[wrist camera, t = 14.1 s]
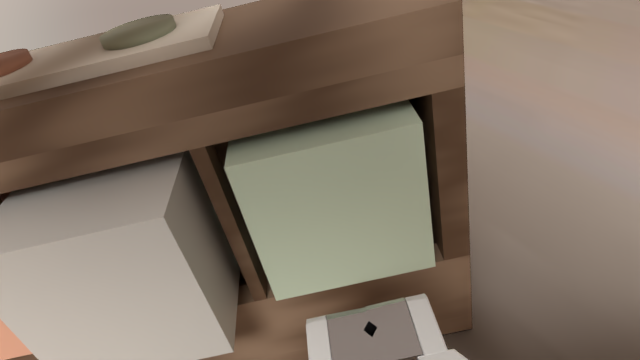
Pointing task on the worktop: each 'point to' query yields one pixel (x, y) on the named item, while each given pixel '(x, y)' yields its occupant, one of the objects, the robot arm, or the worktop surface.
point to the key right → (336, 199)
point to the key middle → (119, 266)
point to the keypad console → (253, 125)
